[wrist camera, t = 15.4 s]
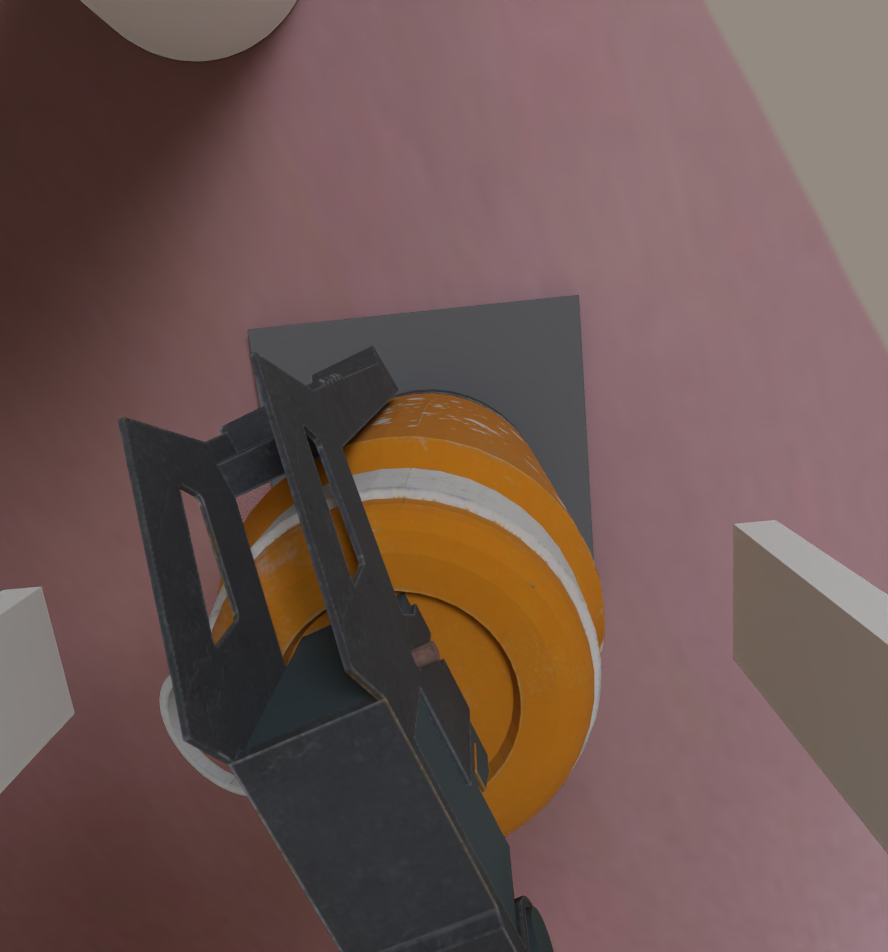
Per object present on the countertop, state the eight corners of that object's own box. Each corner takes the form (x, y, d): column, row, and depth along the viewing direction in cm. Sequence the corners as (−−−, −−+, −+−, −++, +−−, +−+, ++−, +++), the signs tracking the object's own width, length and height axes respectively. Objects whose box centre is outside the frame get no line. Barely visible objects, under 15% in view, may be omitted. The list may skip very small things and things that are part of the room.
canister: (382, 630, 29) (228, 1231, 10) (260, 398, 27) (-237, 570, 8) (574, 547, 28) (830, 1029, 9) (463, 300, 26) (471, 215, 7)
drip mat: (251, 329, 27) (247, 329, 27) (576, 295, 27) (578, 294, 26) (299, 628, 30) (295, 634, 30) (593, 602, 30) (596, 608, 29)
